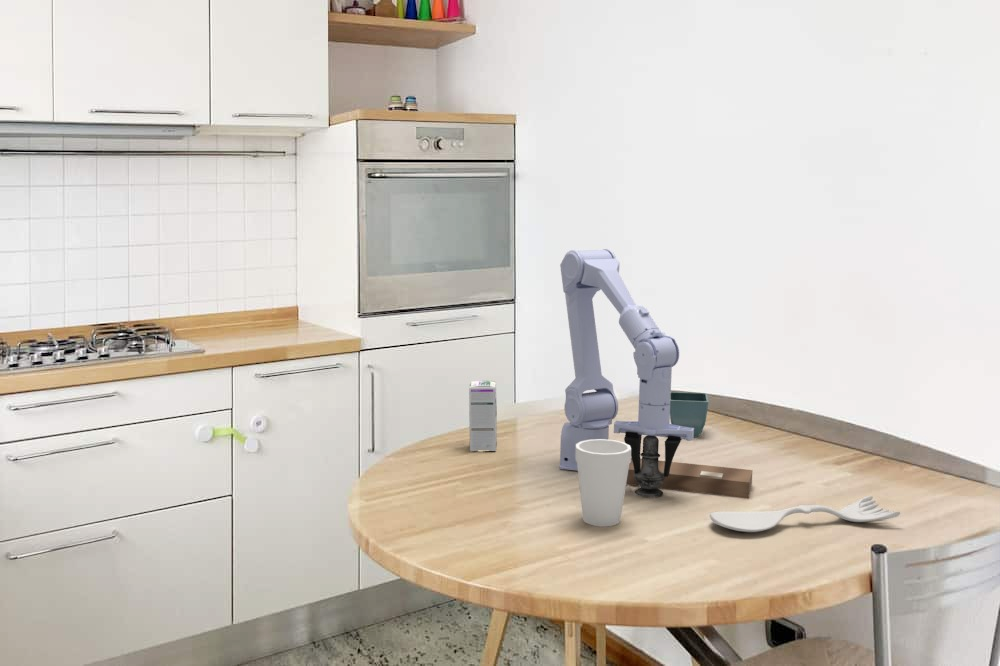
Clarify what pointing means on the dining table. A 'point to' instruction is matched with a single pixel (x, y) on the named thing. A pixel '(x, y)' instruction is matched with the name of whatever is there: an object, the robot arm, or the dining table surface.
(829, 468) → the dining table surface
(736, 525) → the spoon
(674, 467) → the walnut fence board
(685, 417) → the flower pot
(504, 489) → the dining table surface
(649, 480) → the salt shaker
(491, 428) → the syrup box
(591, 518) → the foam cup
